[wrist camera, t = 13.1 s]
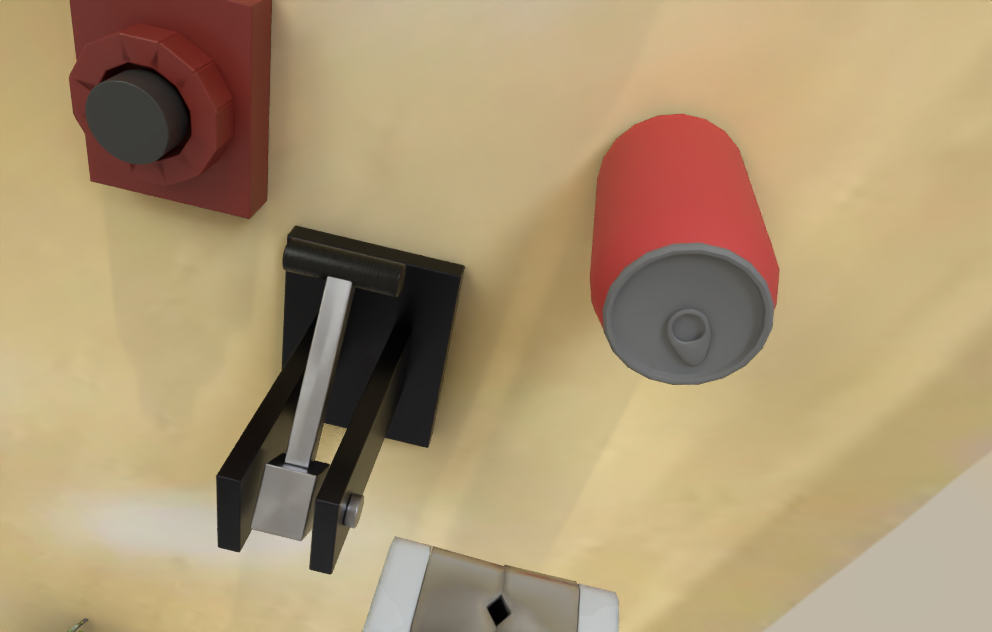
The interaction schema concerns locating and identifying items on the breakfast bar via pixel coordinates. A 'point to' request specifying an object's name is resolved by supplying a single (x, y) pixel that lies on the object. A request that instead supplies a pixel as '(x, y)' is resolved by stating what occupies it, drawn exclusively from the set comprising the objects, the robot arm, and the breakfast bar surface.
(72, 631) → the passion flower
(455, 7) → the breakfast bar surface
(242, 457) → the bracket
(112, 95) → the button
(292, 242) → the lever
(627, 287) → the beer can
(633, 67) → the breakfast bar surface
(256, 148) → the button box
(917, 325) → the breakfast bar surface
